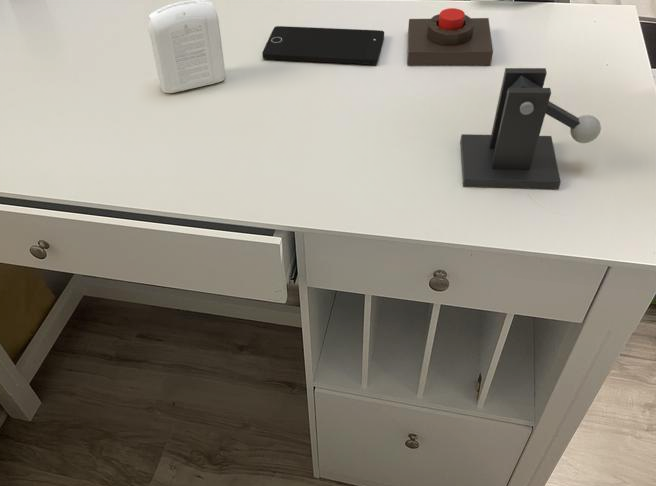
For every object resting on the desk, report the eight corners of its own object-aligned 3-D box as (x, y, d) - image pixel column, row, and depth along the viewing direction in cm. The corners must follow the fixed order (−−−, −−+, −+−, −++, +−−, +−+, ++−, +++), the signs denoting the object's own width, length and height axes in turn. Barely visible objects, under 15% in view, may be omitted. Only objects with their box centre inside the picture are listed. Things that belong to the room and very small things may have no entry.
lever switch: (583, 136, 80) (604, 117, 78) (587, 153, 78) (609, 133, 76) (503, 91, 77) (523, 69, 75) (505, 107, 75) (526, 85, 73)
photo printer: (222, 68, 104) (211, -11, 95) (229, 82, 101) (218, 2, 92) (158, 83, 103) (140, 5, 93) (163, 98, 100) (146, 18, 91)
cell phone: (274, 31, 110) (274, 25, 109) (384, 35, 106) (385, 30, 105) (261, 59, 104) (261, 53, 104) (376, 65, 100) (377, 59, 99)
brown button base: (486, 31, 104) (490, 6, 101) (490, 65, 98) (495, 40, 95) (407, 31, 106) (410, 7, 103) (407, 65, 100) (409, 40, 97)
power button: (462, 19, 100) (464, 7, 99) (463, 31, 98) (465, 19, 96) (438, 19, 100) (439, 8, 99) (438, 31, 98) (439, 20, 97)
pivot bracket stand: (549, 143, 85) (574, 58, 76) (558, 189, 79) (586, 103, 70) (460, 141, 87) (474, 58, 78) (462, 186, 81) (478, 102, 72)
